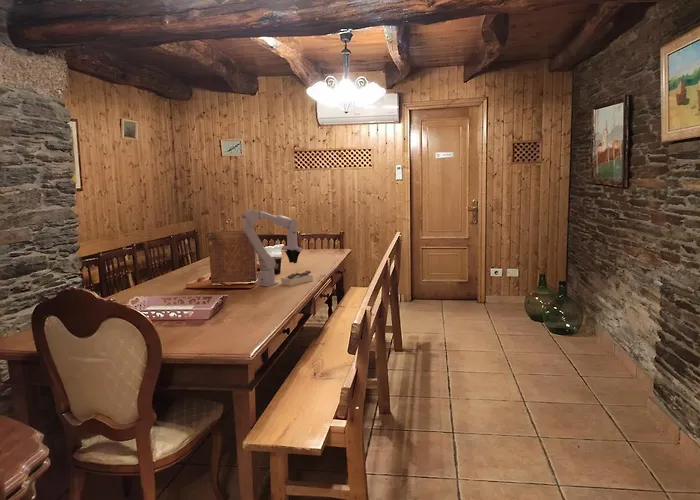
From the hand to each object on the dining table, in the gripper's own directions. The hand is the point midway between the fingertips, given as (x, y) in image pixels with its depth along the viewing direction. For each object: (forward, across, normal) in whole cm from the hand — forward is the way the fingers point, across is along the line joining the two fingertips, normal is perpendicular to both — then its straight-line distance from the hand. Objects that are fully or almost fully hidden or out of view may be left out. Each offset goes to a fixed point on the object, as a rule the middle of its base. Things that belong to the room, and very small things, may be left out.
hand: (293, 262), depth 300 cm
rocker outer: (+6, -8, -3) cm, 10 cm away
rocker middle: (+6, -8, +2) cm, 10 cm away
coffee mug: (+11, +26, -5) cm, 29 cm away
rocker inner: (+6, -8, +8) cm, 12 cm away
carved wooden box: (+10, +22, +26) cm, 36 cm away
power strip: (+10, -6, +3) cm, 12 cm away
